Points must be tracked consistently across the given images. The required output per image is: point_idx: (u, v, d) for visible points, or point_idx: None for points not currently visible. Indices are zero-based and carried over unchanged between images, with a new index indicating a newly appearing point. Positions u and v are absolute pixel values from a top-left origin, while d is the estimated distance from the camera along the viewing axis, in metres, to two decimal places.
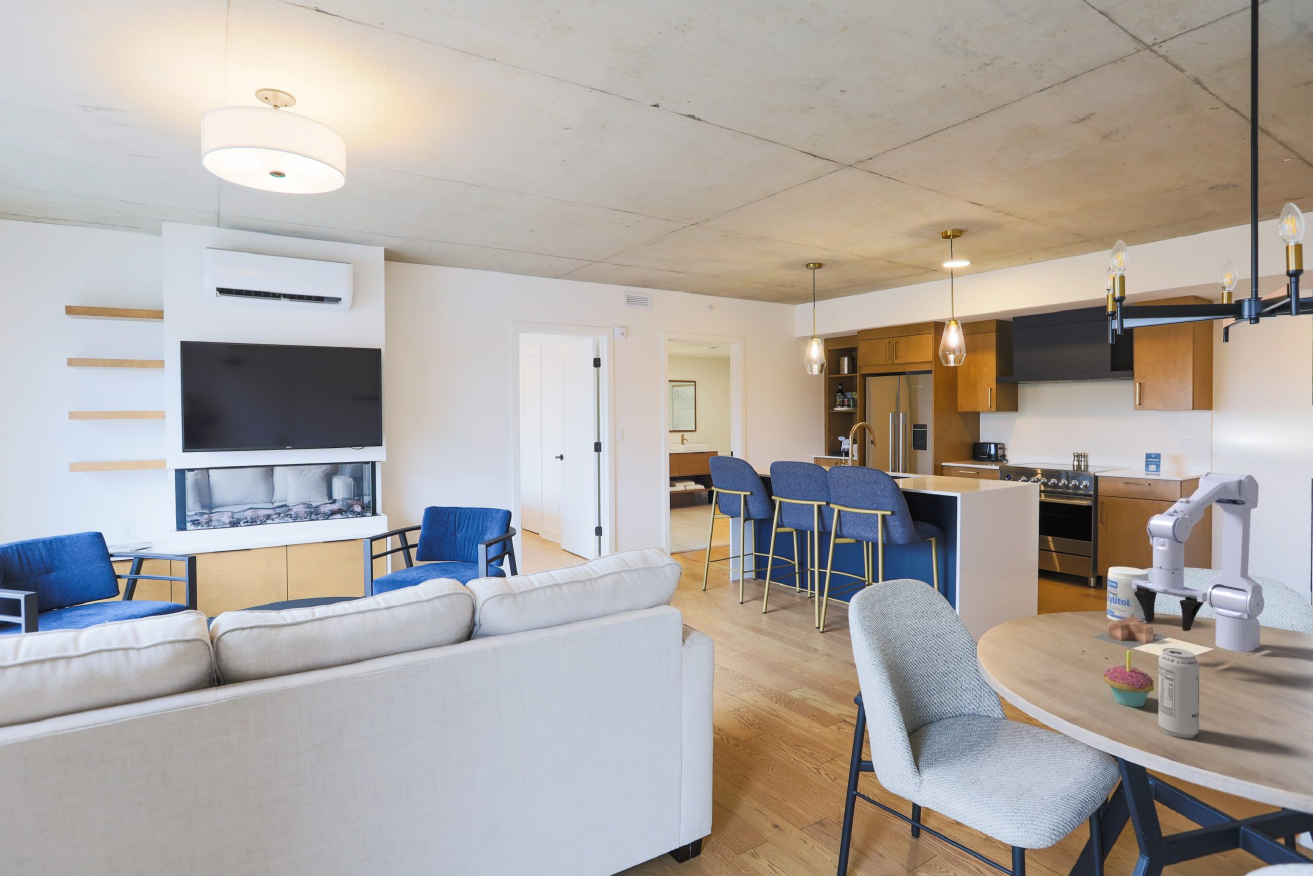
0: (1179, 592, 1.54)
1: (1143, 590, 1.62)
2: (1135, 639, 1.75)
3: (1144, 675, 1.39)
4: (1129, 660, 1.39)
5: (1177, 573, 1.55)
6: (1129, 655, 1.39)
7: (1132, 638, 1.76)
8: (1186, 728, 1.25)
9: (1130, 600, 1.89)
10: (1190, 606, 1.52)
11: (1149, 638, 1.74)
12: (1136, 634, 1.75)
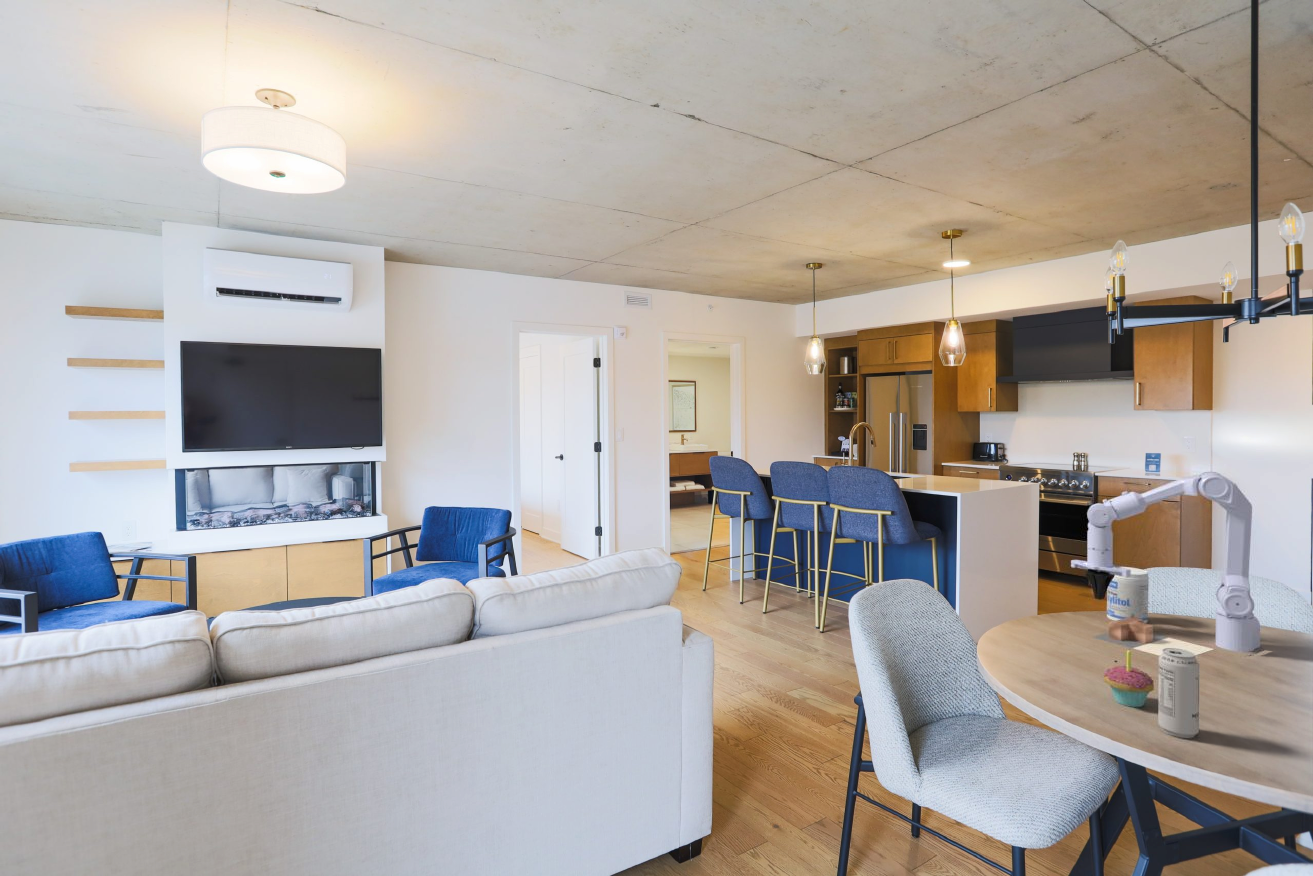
0: (1108, 569, 1.81)
1: (1093, 571, 1.85)
2: (1135, 639, 1.75)
3: (1144, 675, 1.39)
4: (1129, 660, 1.39)
5: (1106, 553, 1.81)
6: (1129, 655, 1.39)
7: (1132, 638, 1.76)
8: (1186, 728, 1.25)
9: (1130, 600, 1.89)
10: (1102, 578, 1.81)
11: (1149, 638, 1.74)
12: (1136, 634, 1.75)
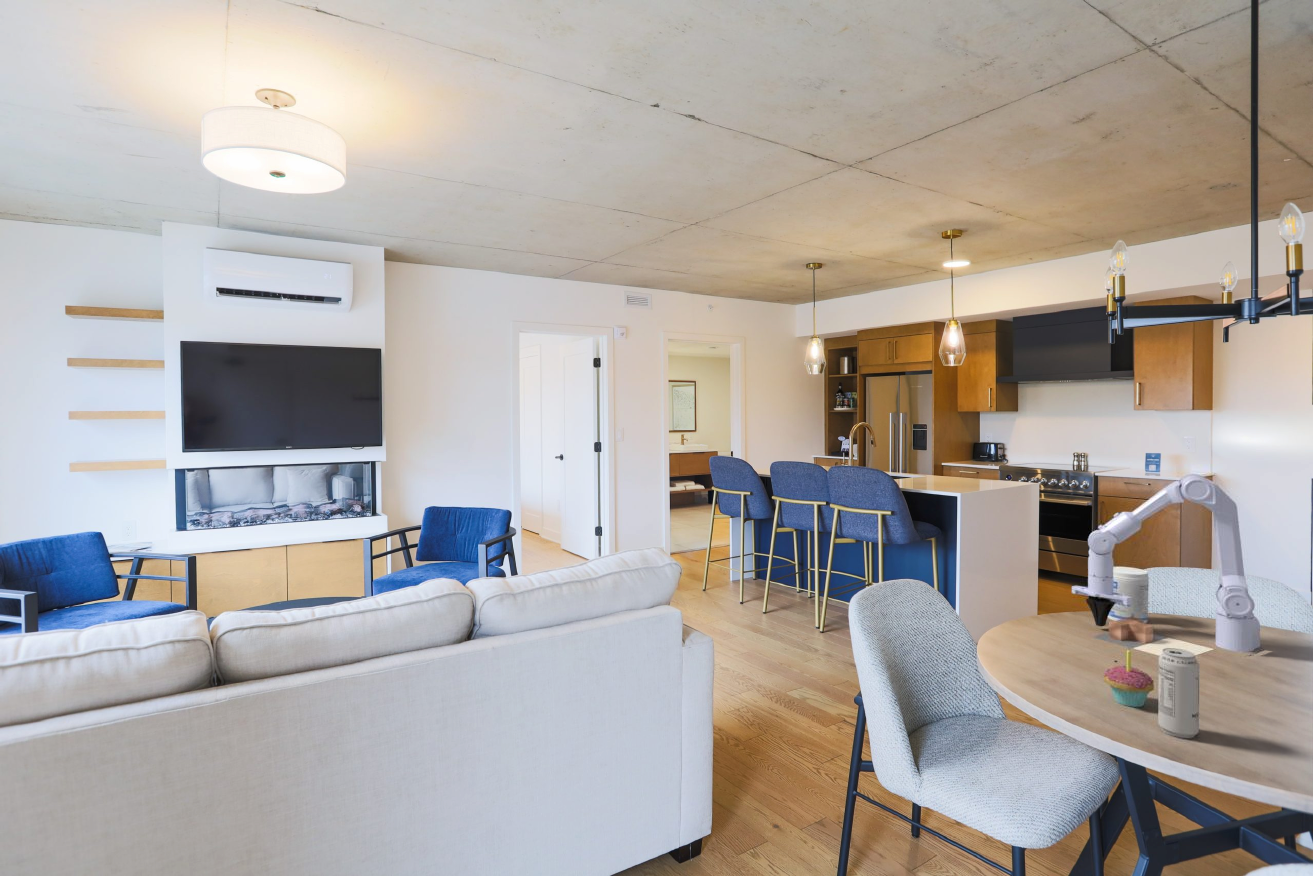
0: (1108, 597, 1.81)
1: (1093, 598, 1.85)
2: (1135, 639, 1.75)
3: (1144, 675, 1.39)
4: (1129, 660, 1.39)
5: (1107, 580, 1.82)
6: (1129, 655, 1.39)
7: (1132, 638, 1.76)
8: (1186, 728, 1.25)
9: None
10: (1103, 605, 1.82)
11: (1149, 638, 1.74)
12: (1136, 634, 1.75)
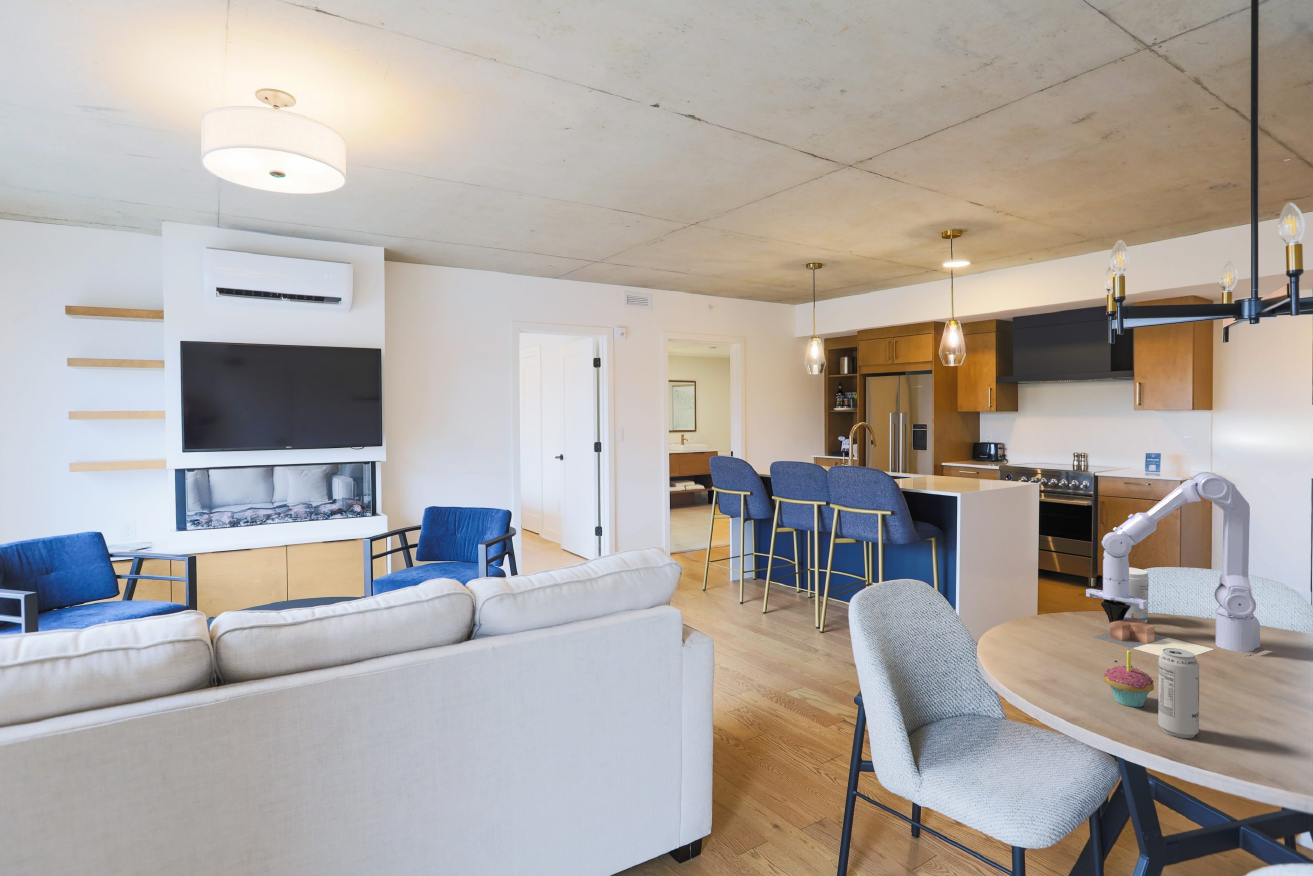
0: (1124, 600, 1.77)
1: (1109, 601, 1.82)
2: (1136, 639, 1.75)
3: (1144, 675, 1.39)
4: (1129, 660, 1.39)
5: (1123, 583, 1.78)
6: (1129, 655, 1.39)
7: (1133, 638, 1.76)
8: (1186, 728, 1.25)
9: None
10: (1118, 609, 1.78)
11: (1150, 638, 1.74)
12: (1137, 634, 1.75)
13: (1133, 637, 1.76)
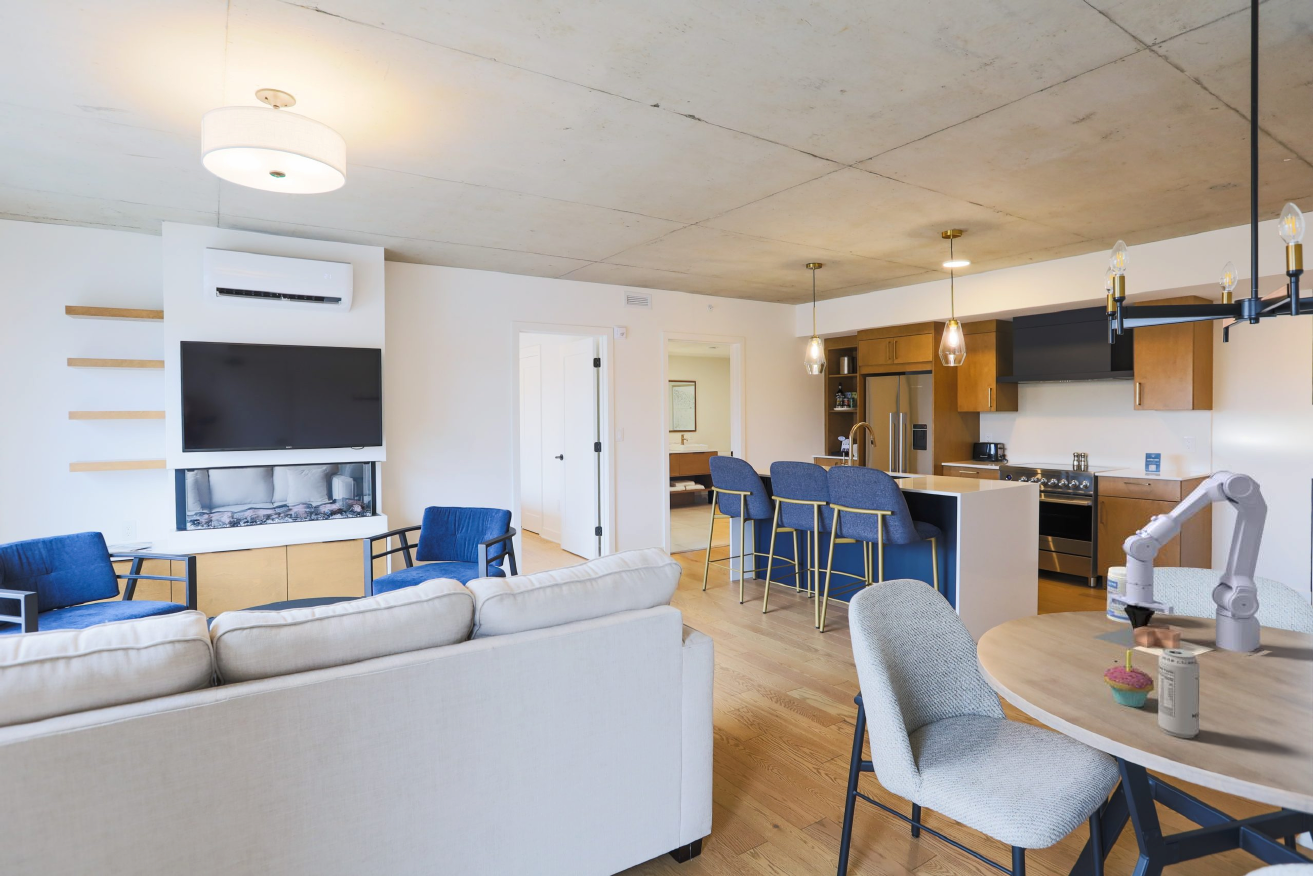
0: (1149, 605, 1.72)
1: (1132, 606, 1.77)
2: (1161, 646, 1.70)
3: (1144, 675, 1.39)
4: (1129, 660, 1.39)
5: (1147, 588, 1.73)
6: (1129, 655, 1.39)
7: (1158, 645, 1.70)
8: (1186, 728, 1.25)
9: None
10: (1142, 614, 1.73)
11: (1176, 645, 1.69)
12: (1162, 641, 1.70)
13: (1158, 644, 1.71)
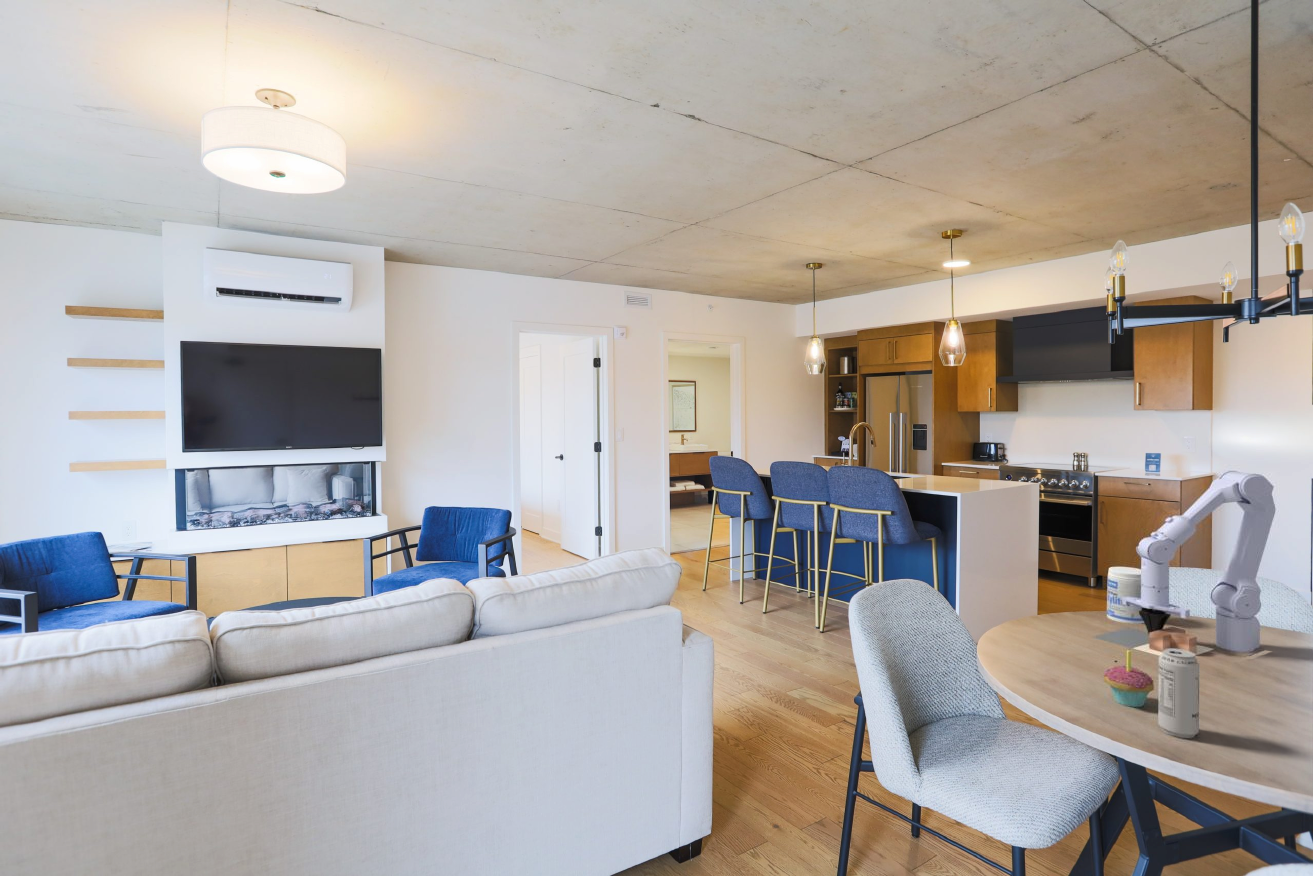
0: (1164, 609, 1.69)
1: (1147, 610, 1.73)
2: None
3: (1144, 675, 1.39)
4: (1129, 660, 1.39)
5: (1163, 591, 1.70)
6: (1129, 655, 1.39)
7: None
8: (1186, 728, 1.25)
9: None
10: (1157, 618, 1.70)
11: (1192, 649, 1.65)
12: (1178, 645, 1.66)
13: None
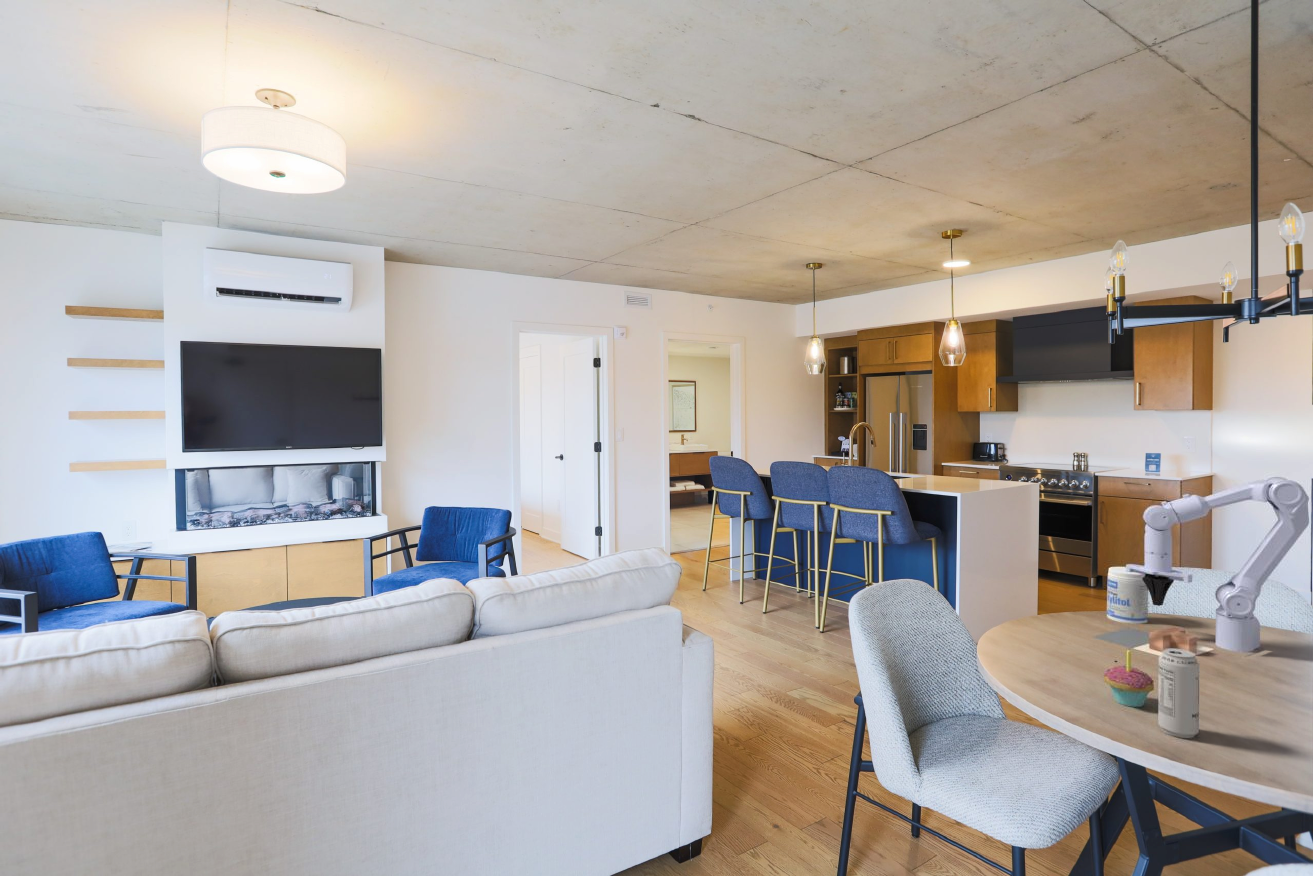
0: (1167, 574, 1.73)
1: (1150, 576, 1.78)
2: None
3: (1144, 675, 1.39)
4: (1129, 660, 1.39)
5: (1166, 557, 1.74)
6: (1129, 655, 1.39)
7: None
8: (1186, 728, 1.25)
9: (1130, 600, 1.89)
10: (1161, 583, 1.74)
11: (1192, 649, 1.65)
12: (1178, 645, 1.66)
13: None
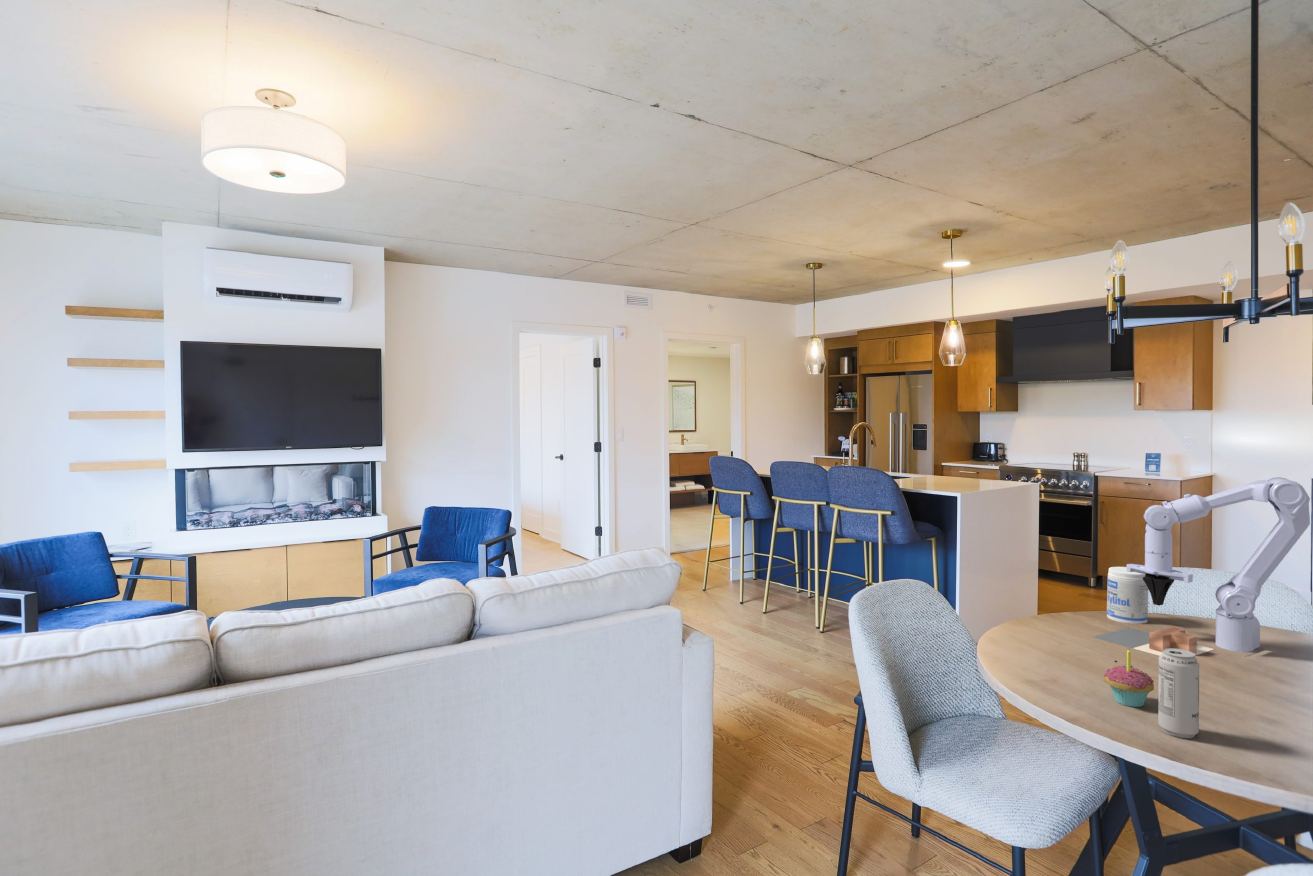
0: (1168, 574, 1.73)
1: (1151, 575, 1.78)
2: None
3: (1144, 675, 1.39)
4: (1129, 660, 1.39)
5: (1166, 557, 1.74)
6: (1129, 655, 1.39)
7: None
8: (1186, 728, 1.25)
9: (1130, 600, 1.89)
10: (1161, 583, 1.74)
11: (1192, 649, 1.65)
12: (1178, 645, 1.66)
13: None
